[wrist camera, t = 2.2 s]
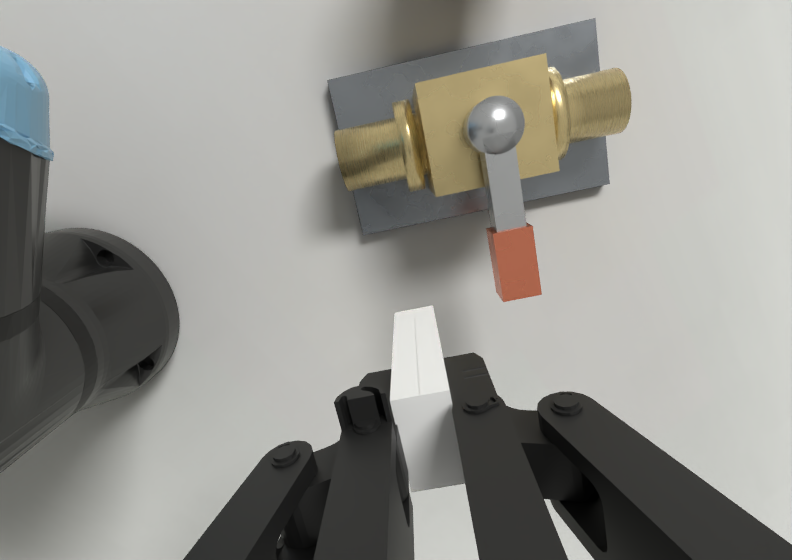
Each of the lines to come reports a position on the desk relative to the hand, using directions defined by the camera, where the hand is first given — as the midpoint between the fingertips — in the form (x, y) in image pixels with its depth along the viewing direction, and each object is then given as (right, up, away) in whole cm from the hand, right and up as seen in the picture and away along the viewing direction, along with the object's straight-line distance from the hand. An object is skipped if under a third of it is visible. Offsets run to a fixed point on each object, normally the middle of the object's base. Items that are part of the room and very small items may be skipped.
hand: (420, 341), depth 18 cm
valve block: (+5, +14, +18) cm, 24 cm away
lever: (+6, +8, +12) cm, 15 cm away
